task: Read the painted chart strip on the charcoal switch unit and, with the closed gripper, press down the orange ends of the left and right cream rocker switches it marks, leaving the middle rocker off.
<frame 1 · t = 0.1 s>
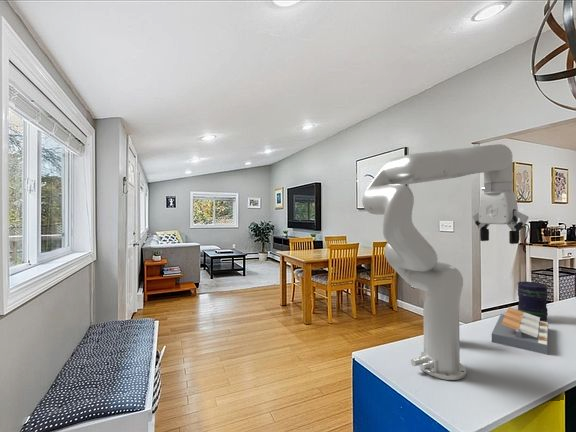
hand: (498, 242, 96), 37 cm above the counter, tool pointing down, fingers open, 9 cm apart
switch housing: (521, 335, 111), on the counter
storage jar: (532, 319, 128), on the counter
switch 2: (521, 321, 111), point 5 cm above the counter, hinge at 13.0°
switch 3: (522, 315, 117), point 5 cm above the counter, hinge at 13.0°
switch 1: (519, 328, 105), point 5 cm above the counter, hinge at 13.0°
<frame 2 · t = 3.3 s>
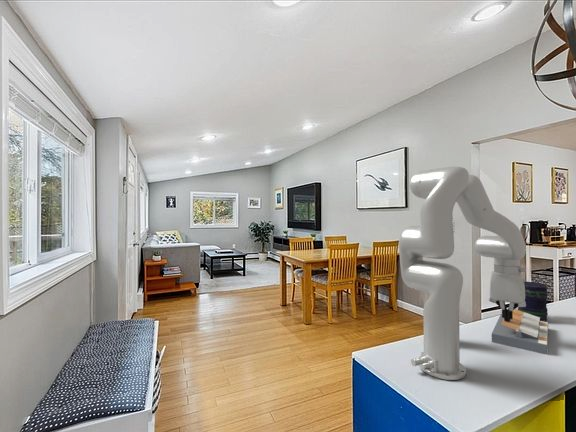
hand: (507, 320, 107), 7 cm above the counter, tool pointing down, fingers closed
switch 1: (519, 328, 105), point 5 cm above the counter, hinge at 13.0°, touching gripper
everything else where it was.
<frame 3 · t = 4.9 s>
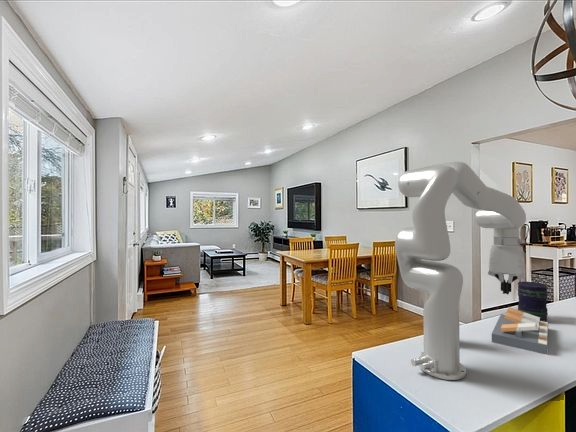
hand: (506, 293, 107), 17 cm above the counter, tool pointing down, fingers closed
switch 1: (519, 328, 105), point 5 cm above the counter, hinge at -17.2°
everything else where it was.
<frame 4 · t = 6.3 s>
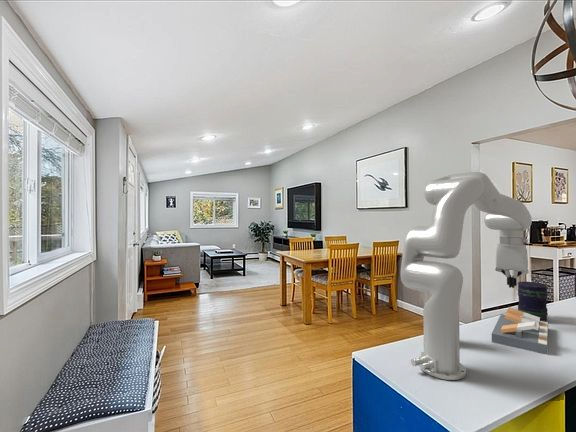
hand: (511, 287, 119), 16 cm above the counter, tool pointing down, fingers closed
switch 1: (519, 328, 105), point 5 cm above the counter, hinge at -22.2°
everything else where it was.
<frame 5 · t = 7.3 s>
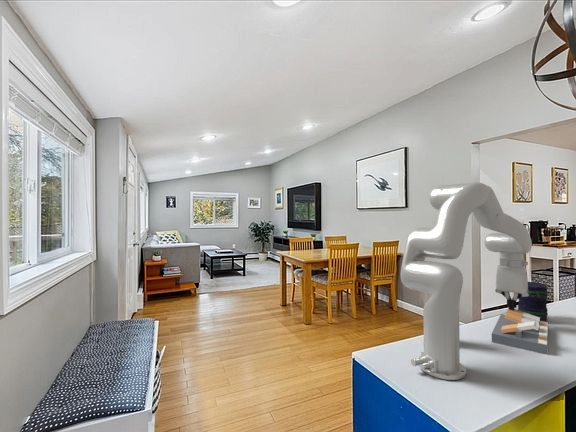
hand: (511, 308, 119), 7 cm above the counter, tool pointing down, fingers closed
switch 3: (522, 315, 117), point 5 cm above the counter, hinge at 13.0°, touching gripper
switch 1: (518, 328, 105), point 5 cm above the counter, hinge at -23.2°
everything else where it was.
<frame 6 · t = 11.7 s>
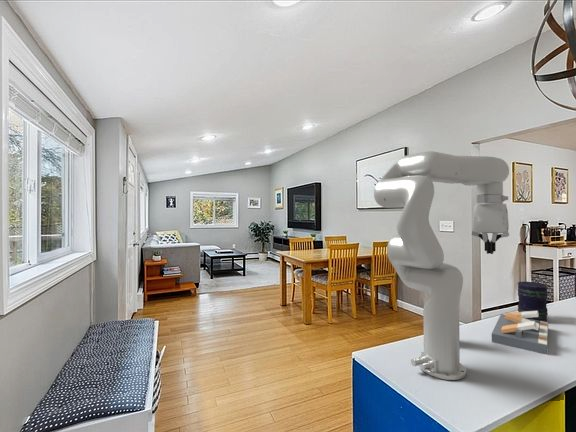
hand: (490, 253, 103), 32 cm above the counter, tool pointing down, fingers closed
switch 3: (522, 315, 117), point 5 cm above the counter, hinge at -16.6°
switch 1: (518, 328, 105), point 5 cm above the counter, hinge at -23.8°, touching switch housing
everything else where it was.
at the end: switch 1 at -24° (first picture: +13°); switch 3 at -17° (first picture: +13°); switch 2 at +13° (first picture: +13°) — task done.
